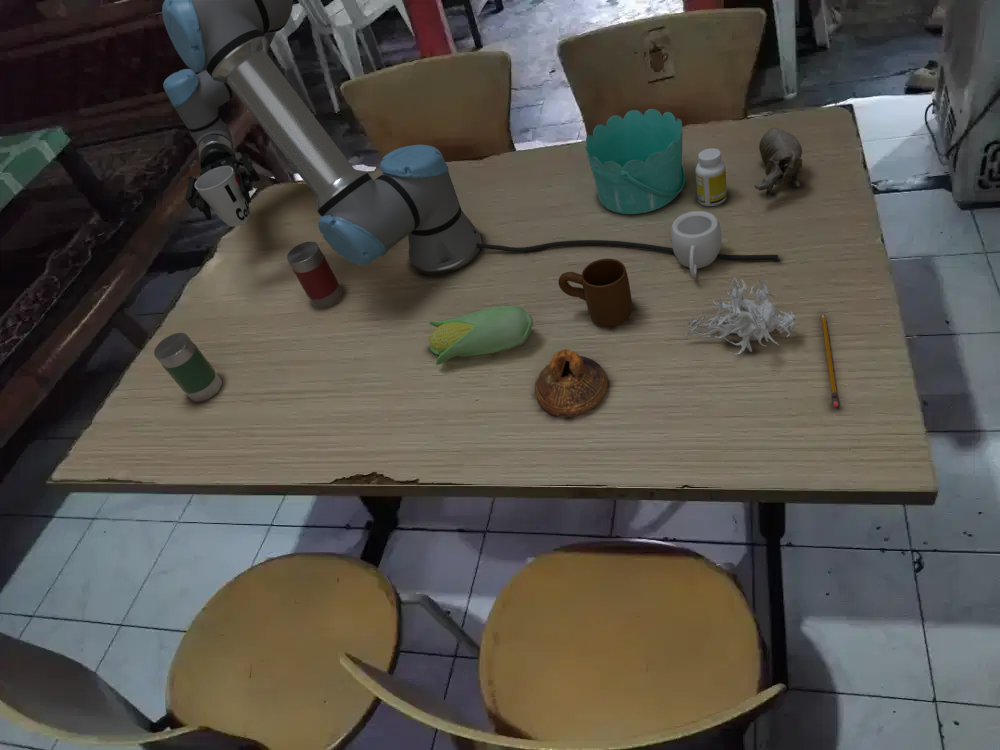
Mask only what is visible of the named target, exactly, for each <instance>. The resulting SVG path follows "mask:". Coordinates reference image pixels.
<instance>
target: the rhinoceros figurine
mask: <svg viewBox="0 0 1000 750" xmlns="http://www.w3.org/2000/svg"><path fill="white" fill-rule="evenodd" d="M758 145H759V146H758V148H759V153H760V157H761V160H762V162H763V164H764V166H765V173H764V174H765V175H766V176H764V177H763V180H762V181H761V183H760V184H758V185H756V184H754V188H755V189H756V190H758V191H759V192H760V191H766V192H765V193H764V196H766V197H768V198H772V197H774V194H773V193H772V191H773V189H774V186H776V185H778V184H780V185H781V186H782V185H783V183H784V182H785V179H788V178H790V184H793V185H792V187H801V183H800V182H799V180H798V178H799V175H800V170H802V168H803V159H802V154H803V148H802V145H801V143H800V141H799V140H798V138H797V137H796V135H795V136H794V134H792V133H790V132H788V131H786V130H784V129H782V128H779V127H771V128H770V129H769V130H767V131H765V133H764V134H763V136H762V137H761V138H760V141H759V144H758Z"/></svg>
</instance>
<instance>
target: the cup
mask: <svg viewBox="0 0 1000 750" xmlns="http://www.w3.org/2000/svg"><path fill="white" fill-rule="evenodd" d="M195 188H196V189H197V191H198V192H199V193H200V195H201V196H202V198H203V199H204V200H205V202H206V203H207V204H208V206H209V207H210V210H212V211H213V213H214V214H215V215H216V216H217V217H218V218H219V219H220V220H222V221H223V222H224V223H225V224H226V225H227V226H229V227H231V228H232V227H239V226H241V225H243V224H245V223H246V222H247V221H248V220H249V219H250V218H251V215H252V214H251V209H250V206H249V205H250V204H249V203H247V201H246V200H245V198H244V196H243V195H242V193H241V190H240V185H239V180H238V178H237V176H236V174H235V172H234V170H233V168H232V167H230V166H221V167H217V168H215V169H212V170H210V171H208V172H206V173H205V174H203V175H202V176H201V177H200V178H198V180H197V181H196V182H195Z"/></svg>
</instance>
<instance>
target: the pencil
mask: <svg viewBox="0 0 1000 750" xmlns="http://www.w3.org/2000/svg"><path fill="white" fill-rule="evenodd" d="M821 313H822V314H821V327H822V334H823V341H824V349H825V356H826V362H827V370H828V376H829V377H828V378H829V383H830V390H831V391H830V392H831V401H832V404H833V407H834V408H837V407H839V398H838V392H837V386H836V380H835V379H836V378H835V374H834V365H833V360H832V353H831V345H830V339H829V332H828V324H827V317H825V315H824V313H823V312H821Z"/></svg>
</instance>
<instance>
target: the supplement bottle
mask: <svg viewBox="0 0 1000 750" xmlns="http://www.w3.org/2000/svg"><path fill="white" fill-rule="evenodd" d="M697 159H698V163H697V165H696V166H695V181H696V194H697V201H698V203H699V204H700V205H702V206H705V207H715V206H718V205H720V204H722V203H723V202H725V201H726V199H727V196H728V195H727V193H728V192H727V191H728V189H727V171H726V164H725V162H724V161H723V160H722V153H721V150H719V149H718V148H714V147H713V148H711V147H710V148H705V149H703V150H702V151H700V152H699V153H698V156H697Z"/></svg>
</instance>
